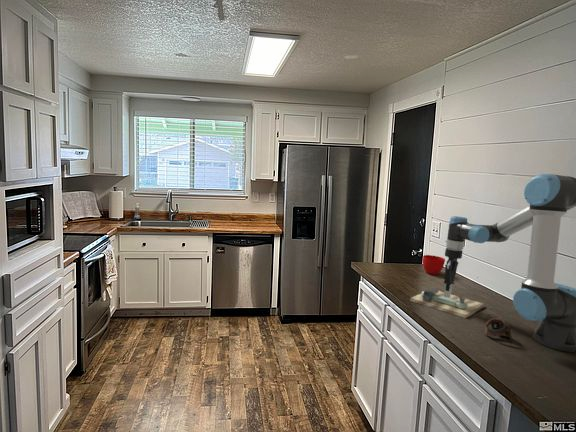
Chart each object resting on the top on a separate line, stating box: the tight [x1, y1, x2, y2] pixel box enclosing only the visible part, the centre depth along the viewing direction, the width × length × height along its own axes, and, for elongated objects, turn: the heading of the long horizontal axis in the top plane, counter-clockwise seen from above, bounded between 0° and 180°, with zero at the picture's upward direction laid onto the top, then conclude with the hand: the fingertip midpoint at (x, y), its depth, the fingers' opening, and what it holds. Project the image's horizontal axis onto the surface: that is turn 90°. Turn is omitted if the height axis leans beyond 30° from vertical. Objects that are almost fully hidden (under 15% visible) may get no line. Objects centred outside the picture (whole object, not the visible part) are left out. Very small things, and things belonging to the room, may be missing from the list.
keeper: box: [423, 287, 440, 302], centre depth 195 cm, size 3×10×4 cm, turn 138°
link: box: [420, 290, 468, 309], centre depth 193 cm, size 22×5×2 cm, turn 48°
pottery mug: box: [484, 316, 513, 341], centre depth 161 cm, size 12×10×8 cm
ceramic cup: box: [422, 254, 446, 276], centre depth 255 cm, size 13×17×10 cm
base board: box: [409, 290, 485, 319], centre depth 196 cm, size 26×25×7 cm
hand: (447, 296), depth 196 cm, fingers closed
